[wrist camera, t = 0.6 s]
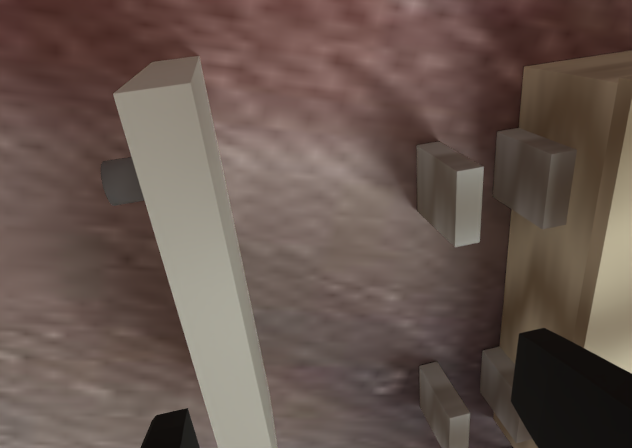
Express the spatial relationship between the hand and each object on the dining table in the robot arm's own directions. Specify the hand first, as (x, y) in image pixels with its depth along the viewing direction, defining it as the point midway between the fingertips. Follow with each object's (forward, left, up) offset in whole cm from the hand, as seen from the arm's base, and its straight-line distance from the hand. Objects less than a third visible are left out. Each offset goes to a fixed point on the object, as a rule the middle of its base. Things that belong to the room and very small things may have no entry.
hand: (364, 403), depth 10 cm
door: (-2, +3, -10) cm, 11 cm away
